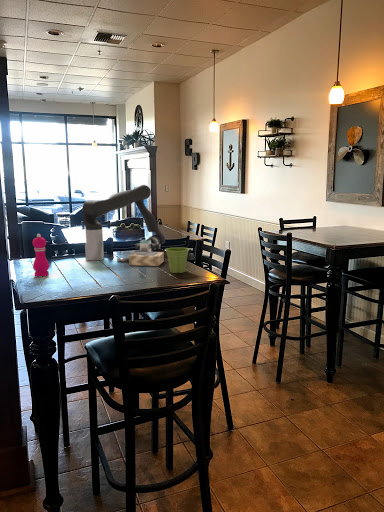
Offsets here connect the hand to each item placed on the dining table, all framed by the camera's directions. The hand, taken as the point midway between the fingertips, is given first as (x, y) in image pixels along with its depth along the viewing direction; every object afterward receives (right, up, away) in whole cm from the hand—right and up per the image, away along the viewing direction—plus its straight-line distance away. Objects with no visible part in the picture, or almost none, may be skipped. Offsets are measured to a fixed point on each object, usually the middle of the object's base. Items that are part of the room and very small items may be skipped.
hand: (144, 248), depth 235 cm
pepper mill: (-44, -14, -39) cm, 61 cm away
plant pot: (+20, -12, -33) cm, 41 cm away
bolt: (-11, -8, -8) cm, 16 cm away
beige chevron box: (+2, -8, -11) cm, 14 cm away
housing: (0, -6, +3) cm, 6 cm away
